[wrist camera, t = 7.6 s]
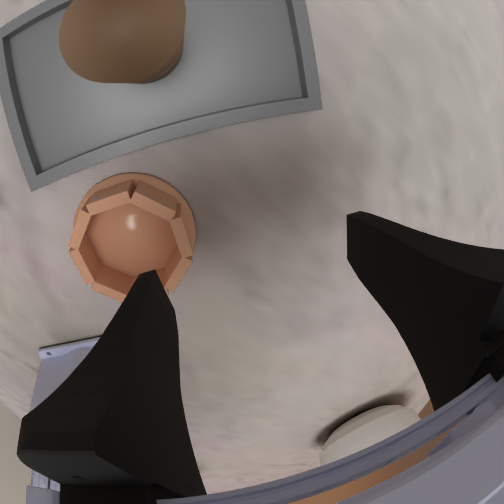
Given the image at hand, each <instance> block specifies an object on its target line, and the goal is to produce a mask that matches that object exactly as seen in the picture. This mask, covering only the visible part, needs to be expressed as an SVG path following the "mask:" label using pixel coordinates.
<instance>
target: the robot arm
mask: <svg viewBox="0 0 504 504" xmlns="http://www.w3.org/2000/svg"><path fill="white" fill-rule="evenodd" d="M347 259H348V261H349V263H350V265H351V266H352V268H353V270H354V271H355V273H356V275H357V276H358V278H359V279H360V281H361V282H362V283H363V285H364V286H365V287H366V288H367V290H368V291H369V292H370V293H371V295H372V296H373V297H374V298H375V300H376V301H377V302H378V304H379V305H380V306H381V307H382V309H383V310H384V311H385V312H386V314H387V315H388V316H389V318H390V319H391V320H392V322H393V323H394V325H395V326H396V328H397V330H398V331H399V333H400V335H401V337H402V338H403V340H404V342H405V344H406V345H407V347H408V349H409V351H410V353H411V355H412V357H413V359H414V361H415V363H416V365H417V367H418V370H419V372H420V374H421V377H422V379H423V381H424V383H425V386H426V389H427V391H428V394H429V397H430V400H431V402H432V405H433V408H434V412H433V413H432V414H430V415H428V416H426V417H425V418H423V419H421V420H420V421H418V422H416V423H414V424H413V425H411V426H409V427H407V428H405V429H403V430H402V431H400V432H398V433H396V434H394V435H392V436H390V437H388V438H386V439H384V440H382V441H380V442H378V443H376V444H374V445H372V446H369V447H367V448H365V449H363V450H360V451H358V452H356V453H353V454H351V455H349V456H346V457H344V458H341V459H339V460H336V461H334V462H331V463H328V464H326V465H323V466H320V467H317V468H314V469H311V470H308V471H305V472H302V473H299V474H296V475H293V476H289V477H286V478H283V479H279V480H275V481H272V482H268V483H264V484H260V485H256V486H251V487H247V488H242V489H237V490H232V491H227V492H221V493H215V494H208V495H207V493H206V490H205V488H204V485H203V482H202V479H201V476H200V473H199V469H198V466H197V463H196V459H195V456H194V452H193V448H192V445H191V441H190V437H189V432H188V428H187V423H186V419H185V414H184V408H183V403H182V397H181V388H180V369H179V340H178V329H177V322H176V316H175V310H174V308H173V306H172V304H171V302H170V300H169V298H168V296H167V293H166V291H165V289H164V287H163V285H162V283H161V280H160V278H159V276H158V274H157V272H156V269H154V270H151V271H148V272H144V273H141V274H139V276H138V277H137V279H136V280H135V282H134V284H133V285H132V287H131V289H130V291H129V292H128V294H127V296H126V297H125V299H124V301H123V302H122V304H121V306H120V307H119V309H118V311H117V312H116V314H115V316H114V317H113V319H112V320H111V322H110V323H109V325H108V326H107V328H106V330H105V331H104V333H103V334H102V336H101V337H97V338H92V339H88V340H83V341H78V342H73V343H68V344H63V345H58V346H53V347H48V348H42V349H39V350H38V355H39V356H40V358H41V359H42V361H41V365H40V368H39V372H38V376H37V380H36V384H35V388H34V392H33V397H32V401H31V407H30V412H29V413H28V414H27V415H25V416H24V417H23V418H22V422H21V428H20V434H19V441H18V447H17V456H18V457H19V459H20V460H21V461H22V462H23V463H24V464H25V465H26V466H28V467H29V468H31V469H32V476H31V486H29V485H28V486H27V488H26V504H287V503H291V502H294V501H298V500H301V499H304V498H307V497H311V496H314V495H317V494H320V493H322V492H325V491H328V490H331V489H334V488H336V487H339V486H341V485H344V484H347V483H349V482H351V481H354V480H356V479H358V478H361V477H363V476H365V475H368V474H370V473H372V472H374V471H376V470H378V469H380V468H383V467H385V466H387V465H389V464H390V463H392V462H394V461H396V460H398V459H400V458H402V457H404V456H406V455H408V454H409V453H411V452H413V451H415V450H416V449H418V448H420V447H422V446H423V445H425V444H427V443H428V442H430V441H431V440H433V439H435V438H436V437H438V436H439V435H441V434H442V433H444V432H445V431H447V430H448V429H450V428H451V427H453V426H454V425H456V424H457V423H459V422H460V421H461V420H463V419H464V418H466V417H467V418H466V419H465V420H463V421H462V422H461V423H460V424H458V425H457V426H456V427H455V428H453V429H452V430H451V431H450V432H449V433H448V434H447V436H446V437H445V438H444V439H443V440H442V441H441V442H440V443H439V444H438V445H437V446H436V447H435V448H433V449H432V450H431V451H430V452H429V453H428V457H429V458H427V459H425V460H424V461H422V462H420V463H418V464H417V465H415V466H413V467H411V468H409V469H408V470H406V471H404V472H402V473H400V474H398V475H396V476H395V477H393V478H391V479H389V480H387V481H385V482H383V483H380V484H379V485H377V486H374V487H372V488H370V489H368V490H366V491H363V492H361V493H359V494H357V495H354V496H352V497H350V498H347V499H345V500H342V501H340V502H337V503H335V504H504V250H503V249H492V248H485V247H479V246H474V245H468V244H463V243H459V242H455V241H451V240H447V239H443V238H439V237H436V236H433V235H430V234H427V233H424V232H421V231H418V230H415V229H412V228H409V227H406V226H404V225H401V224H398V223H395V222H393V221H390V220H387V219H385V218H382V217H379V216H376V215H373V214H370V213H366V212H362V211H359V212H355V213H351V214H348V215H347Z"/></svg>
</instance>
